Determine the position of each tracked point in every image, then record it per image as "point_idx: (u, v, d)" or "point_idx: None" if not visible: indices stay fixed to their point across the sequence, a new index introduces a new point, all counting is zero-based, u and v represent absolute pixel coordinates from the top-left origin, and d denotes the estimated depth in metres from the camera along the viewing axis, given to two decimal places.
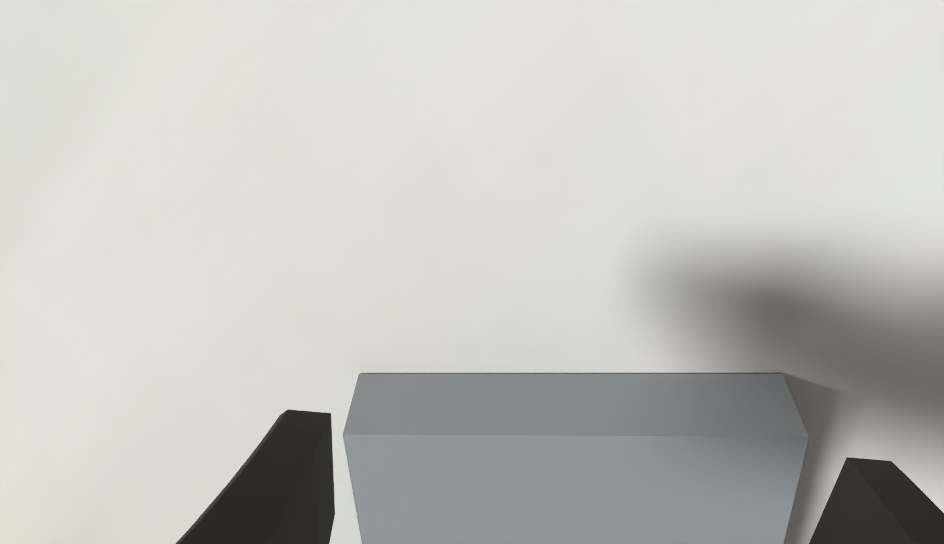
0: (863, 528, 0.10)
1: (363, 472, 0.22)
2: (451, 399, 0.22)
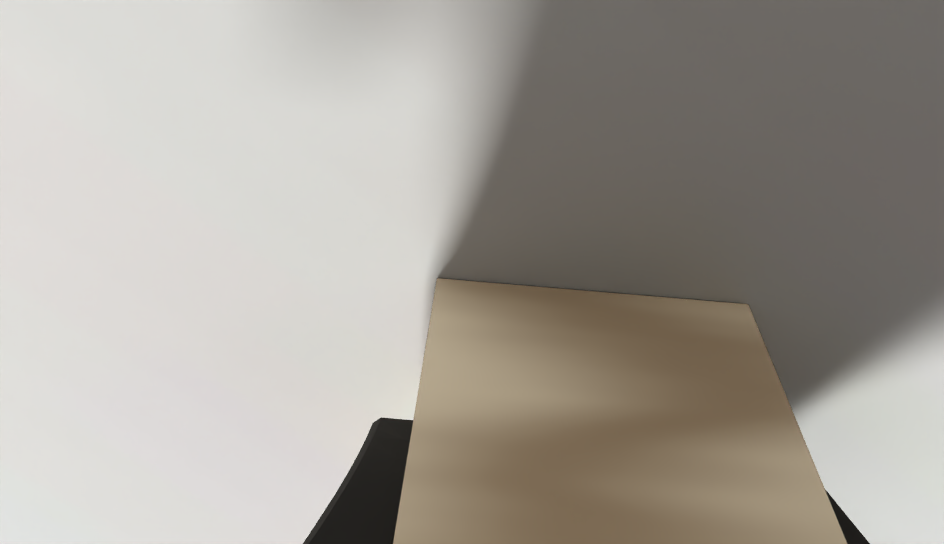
0: None
1: None
2: None
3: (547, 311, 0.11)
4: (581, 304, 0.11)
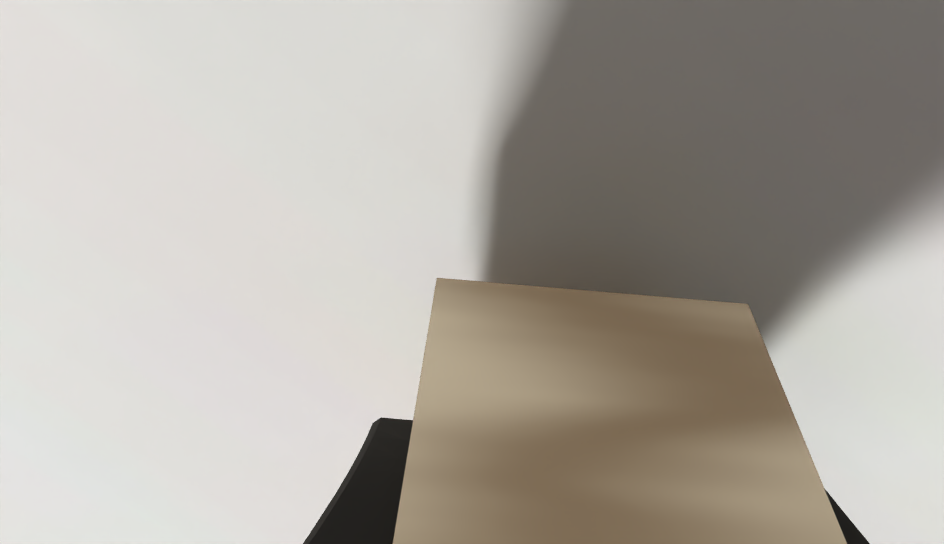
0: None
1: None
2: None
3: (547, 310, 0.11)
4: (581, 303, 0.11)
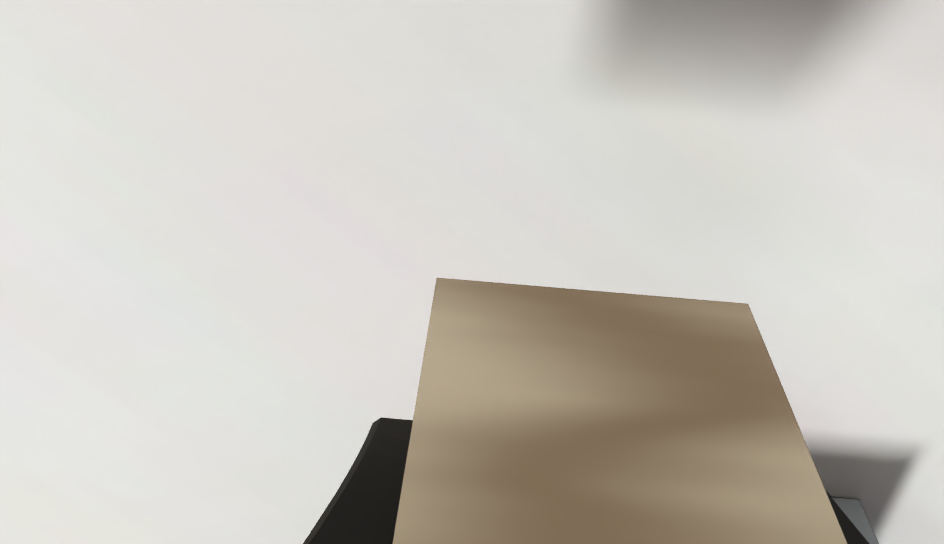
0: None
1: None
2: None
3: (547, 310, 0.11)
4: (581, 304, 0.11)
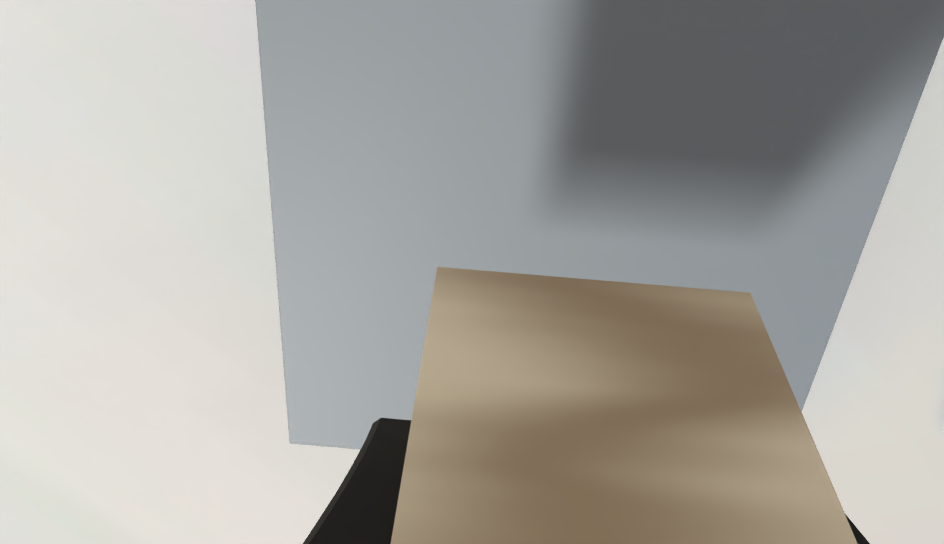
0: None
1: (345, 436, 0.20)
2: None
3: (549, 299, 0.11)
4: (582, 292, 0.11)
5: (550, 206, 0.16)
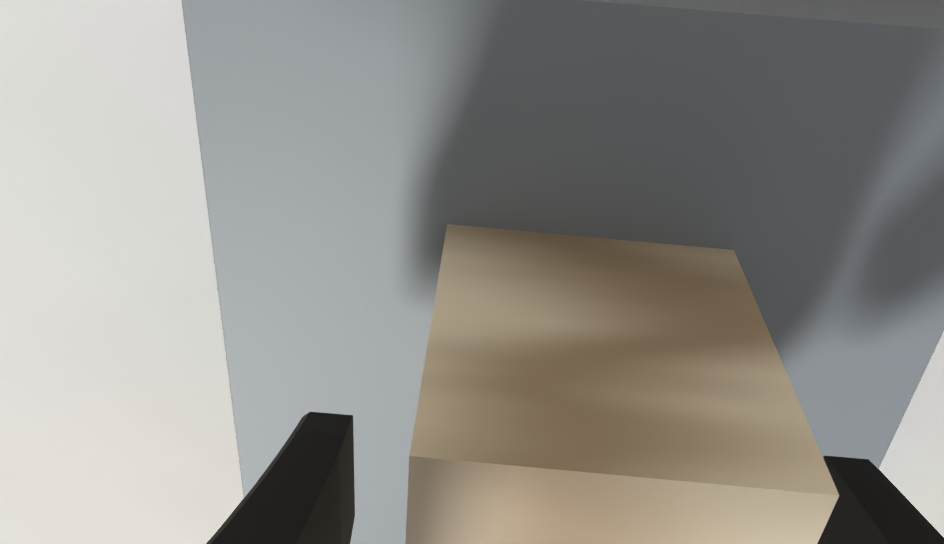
0: (839, 526, 0.10)
1: None
2: None
3: (549, 252, 0.12)
4: (580, 247, 0.12)
5: None
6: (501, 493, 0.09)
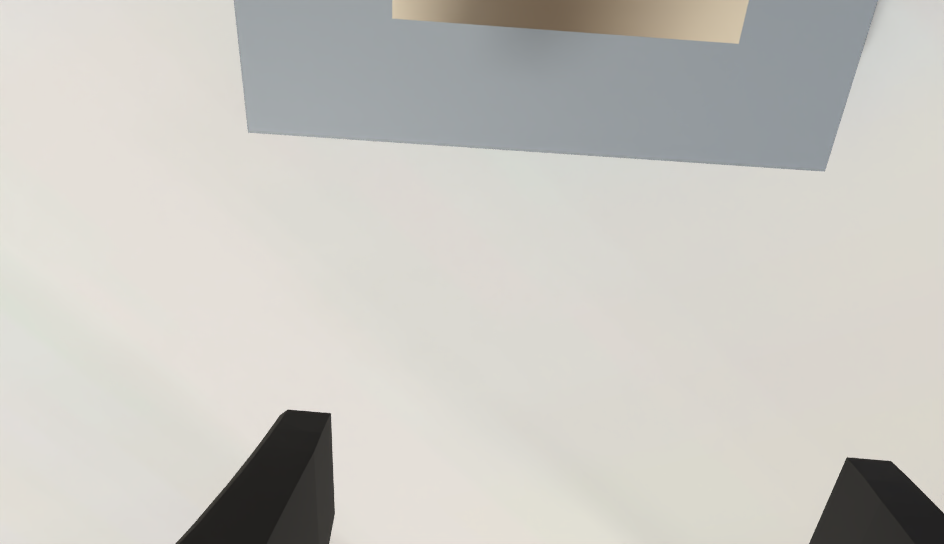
0: (863, 528, 0.10)
1: (313, 119, 0.17)
2: None
3: None
4: None
5: None
6: None
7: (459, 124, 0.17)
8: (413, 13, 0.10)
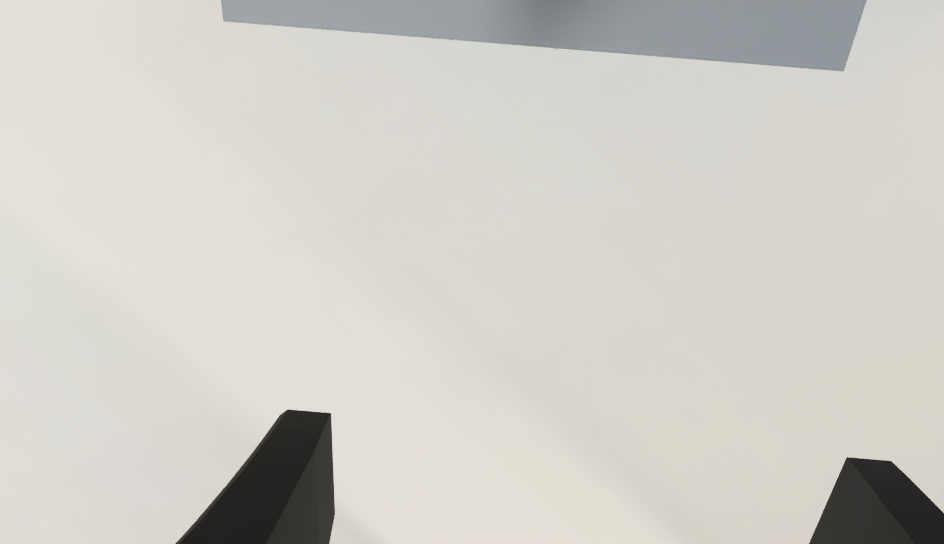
0: (863, 528, 0.10)
1: (294, 6, 0.15)
2: None
3: None
4: None
5: None
6: None
7: (452, 13, 0.15)
8: None
